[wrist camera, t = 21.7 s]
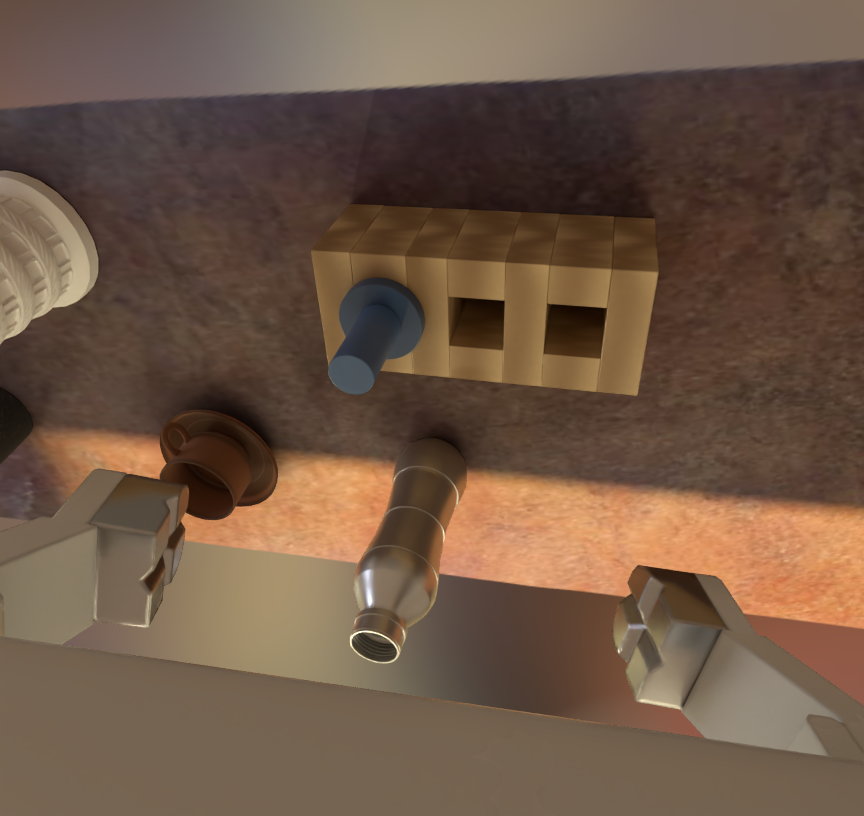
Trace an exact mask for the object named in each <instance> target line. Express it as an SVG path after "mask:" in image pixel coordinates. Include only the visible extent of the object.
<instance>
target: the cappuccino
mask: <svg viewBox="0 0 864 816" xmlns="http://www.w3.org/2000/svg"><path fill="white" fill-rule="evenodd" d="M160 447H161V451H162V454H163V457H164V459H165V461H166V463H167V464H166V465H165V466H164V468H163V469H162V471H161V473H160V480H164V481H169V482H174V483H179V484H184V485H188V489H189V498H188V508H187V510H186V513H188V514H190V515H192V516H194V517H197V518H201V519H205V520H219V519H223V518H225V517H227V516H229V515H230V514H231V513H232V511H233V510H234V508H235V506H251V505H255V504H259V503H261V502H263V501H264V500H266V499H267V498H268V497H269V496H270V495H271V494H272V493H273V491H274V489H275V487H276V484H277V479H278V469H277V464H276V461H275V458H274V456H273V454H272V452H271V450H270V449H269V447H268V446H267V445H266V443H265V442H264V441H263V439H262V438H261V437H260V436H259V435H258V434H257V433H256V432H255V431H253V430H252V429H251V428H250V427H248V426H247V425H245V424H244V423H242V422H241V421H239V420H237V419H235V418H233V417H231V416H228V415H225V414H222V413H219V412H215V411H210V410H189V411H185V412H182V413H179V414H177V415H176V416H174V417H172V418H171V419H170V420H169V421H168V422H167V423H166V424H165V425H164V427H163V429H162V431H161V435H160Z"/></svg>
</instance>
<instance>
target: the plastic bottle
mask: <svg viewBox="0 0 864 816" xmlns="http://www.w3.org/2000/svg"><path fill="white" fill-rule="evenodd" d="M466 481H467V468H466V464H465V461H464V459H463V458H462V456H461V455H460V453H459V452H458V450H457V449H456V448H455V447H454V446H452V445H451V444H449V443H447V442H446V441H443V440H440V439H436V438H423V439H420V440H417V441H414V442H412V443H410V444H409V445H408V446H407V447H406V448H405V449H404V450H403V452H402V453H401V455H400V456H399V458H398V460H397V461H396V465H395V469H394V474H393V482H392V490H391V494H390V497H389V501H388V505H387V509H386V511H385V514H384V516H383V519H382V521H381V523H380V525H379V527H378V529H377V531H376V534H375V536H374V537H373V539H372V541H371V543H370V544H369V546H368V548H367V549H366V551H365V553H364V554H363V556H362V558H361V560H360V561H359V563H358V566H357V568H356V569H355V573H354V593H355V596H356V600H357V603H358V606H359V609H360V612H359V613H358V614H357V616H356V619H355V622H354V628H353V631H352V633H351V636H350V644H351V647H352V648H353V650H354V651H355V652H356V653H357V654H358V655H360V656H361V657H363V658H365V659H367V660H370V661H373V662H377V663H390V662H393V661H395V660H396V659H397V658H398V656H399V654H400V651H401V648H402V644H403V643H404V642H405V639H406V636H407V628H408V627H409V626H411V625H413V624H415V623H416V622H417V621H419V620H420V619H421V618H423V617H424V616H425V615H426V614H427V613H428V611H429V610H430V608H431V607H432V605H433V604H434V601H435V599H436V594H437V588H438V577H439V567H440V558H441V553H442V548H443V542H444V539H445V534H446V530H447V527H448V525H449V522H450V519H451V517H452V514H453V512H454V509H455V508H456V506H457V505H458V503H459V501H460V499H461V497H462V495H463V493H464V490H465V488H466Z"/></svg>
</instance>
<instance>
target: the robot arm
mask: <svg viewBox="0 0 864 816" xmlns="http://www.w3.org/2000/svg"><path fill="white" fill-rule="evenodd" d="M188 498H189V489H188V485H184V484H179V483H174V482H169V481H164V480H159V479H154V478H148V477H143V476H138V475H133V474H127V473H124V472H118V471H112V470H105V469H95V470H93V471H92V472H91V473H90V474H89V476H88V477H87V478H86V479H85V480H84V481H83V483H82V484H81V485H80V486H79V487H78V488H77V490H76V491H75V492H74V493H73V494H72V495H71V497H70V498H69V499H68V500H67V501H66V502H65V504H64V505H63V506H62V507H61V508H60V509H59V511H58V512H57V513H56V514H55V515H54V516H53V518H48V517H40V518H37V519H35V520H32V521H29V522H26V523H23V524H21V525H17V526H15V527H12V528H9V529H6V530H3V531H0V816H864V706H863V705H862V704H860V703H859V702H857V701H856V700H855V699H853V698H852V697H850V696H849V695H848V694H846V693H845V692H843V691H842V690H840V689H839V688H838V687H836V686H835V685H833V684H832V683H830V682H829V681H827V680H826V679H825V678H823V677H822V676H820V675H819V674H818V673H816V672H815V671H814V670H812V669H810V668H809V667H808V666H807V665H805V664H804V663H802V662H801V661H799V660H798V659H797V658H795V657H794V656H792V655H791V654H790V653H788V652H787V651H785V650H784V649H782V648H781V647H780V646H778V645H777V644H775V643H774V642H772V641H771V640H770V639H768V638H767V637H765V636H759V635H757V633H756V632H755V630H754V629H753V627H752V626H751V625H750V623H749V621H748V620H747V618H746V617H745V615H744V614H743V612H742V611H741V609H740V608H739V606H738V605H737V603H736V602H735V600H734V598H733V597H732V595H731V594H730V592H729V591H728V589H727V588H726V586H725V585H724V583H723V582H722V580H720V579H719V578H717V577H716V576H711V575H704V574H697V573H688V572H681V571H674V570H668V569H661V568H654V567H648V566H641V565H638V566H637V567H636V568H635V569H634V570H633V571H632V574H631V576H630V578H629V580H628V585H629V588H630V591H631V594H630V595H629V596H627V597H626V598H624V599H623V600H622V601H620V602H619V604H618V607H617V610H616V612H615V615H614V621H613V631H612V632H613V639H614V644H615V647H616V650H617V653H618V654H619V655H620V656H621V657H622V658H623V659H624V660H626V661H627V662H628V663H629V664H628V666H627V668H626V671H625V674H626V677H627V679H628V682H629V684H630V687H631V690H632V692H633V695H634V697H635V700H636V701H637V702H643V703H648V704H654V705H659V706H665V707H671V708H676V709H682V711H681V712H682V713H683V714H684V715H685V716H686V717H687V719H688V720H689V721H690V722H691V723H692V724H693V725H694V726H695V727H696V728H697V729H698V730H699V732H700V733H701V734H702V735H703V736H704V737H705V738H701V737H694V736H687V735H680V734H672V733H666V732H659V731H652V730H645V729H638V728H632V727H625V726H617V725H611V724H603V723H597V722H590V721H583V720H576V719H570V718H563V717H556V716H549V715H541V714H535V713H528V712H521V711H514V710H507V709H500V708H494V707H486V706H480V705H472V704H466V703H459V702H452V701H446V700H438V699H432V698H425V697H418V696H411V695H404V694H397V693H390V692H384V691H376V690H370V689H363V688H356V687H349V686H342V685H336V684H329V683H322V682H315V681H308V680H301V679H294V678H287V677H280V676H273V675H267V674H260V673H253V672H246V671H239V670H232V669H225V668H218V667H212V666H204V665H197V664H191V663H184V662H177V661H170V660H163V659H157V658H150V657H143V656H136V655H129V654H122V653H115V652H108V651H101V650H95V649H88V648H81V647H74V646H67V645H62V644H63V643H65V642H66V641H68V640H69V639H71V638H73V637H74V636H76V635H77V634H79V633H80V632H82V631H83V630H85V629H86V628H88V627H89V626H91V625H92V624H93V621H95V622H104V623H111V624H120V625H129V626H136V627H144V628H149V626H150V624H151V622H152V620H153V618H154V616H155V614H156V612H157V610H158V608H159V606H160V604H161V602H162V599H163V589H164V586H165V585H167V584H169V583H171V581H172V579H173V577H174V575H175V573H176V571H177V568H178V564H179V561H180V558H181V555H182V550H183V545H184V538H185V530H186V529H185V528H184V526H183V524H182V523H181V519H182V517H183V515H184V514H185V512H186V510H187V508H188Z"/></svg>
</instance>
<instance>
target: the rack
mask: <svg viewBox="0 0 864 816" xmlns="http://www.w3.org/2000/svg"><path fill="white" fill-rule="evenodd" d="M311 255H312V261H313V268H314V274H315V281H316V287H317V294H318V300H319V307H320V313H321V320H322V326H323V333H324V339H325V346H326V352H327V358H328V365H329V364H330V362H331V360H332V359H333V357H334V355H335V354H336V352H337V351H338V349H339V347H340V346H341V344H342V342H343V341H344V339H345V338H346V336H345V335H344V333H343V331H342V328H341V325H340V321H339V309H340V305H341V302H342V300H343V299H344V297H345V295H346V294H347V293H348V291H349V290H350V289H351V287H353V286H354V285H355V284H356V283H358V282H360V281H362V280H365V279H369V278H387V279H391V280H394V281H396V282H398V283H400V284H402V285H404V286H405V287H407V288H408V289H409V290H410V291H411V292H412V293H413V294H414V295H415V296H416V297H417V299H418V300H419V302H420V304H421V306H422V308H423V311H424V315H425V328H424V332H423V334H422V337H421V339H420V341H419V343H418V345H417V346H416V347H415V349H413V350H412V351H411V352H410V353H409V354H407V355H405V356H403V357H400V358H396V359H386V361H385V363H384V365H383V367H382V368H381V370H380V371H390V372H401V373H411V374H412V373H413V374H420V375H430V376H440V377H451V378H460V379H471V380H481V381H491V382H501V383H502V382H503V383H512V384H522V385H532V386H542V387H553V388H563V389H573V390H584V391H594V392H596V391H598V392H607V393H617V394H628V395H637V394H638V389H639V383H640V377H641V371H642V366H643V360H644V354H645V348H646V343H647V337H648V331H649V325H650V320H651V314H652V308H653V302H654V297H655V291H656V285H657V279H658V274H659V270H658V256H657V242H656V227H655V219H653V218H632V217H615V218H614V217H613V216H592V215H571V214H553V213H532V212H522V213H521V212H509V211H488V210H467V209H446V208H434V209H433V208H422V207H401V206H384V205H364V204H350V205H349V206H348V207H347V208H346V209H345V211H344V212H343V213H342V214H341V215H340V216H339V218H338V219H337V220H336V221H335V222H334V224H333V225H332V226H331V227H330V228H329V229H328V231H327V232H326V233H325V234H324V235H323V236H322V238H321V239H320V240H319V241H318V242H317V244H316V245H315V246H314V247H313V248H312V249H311Z"/></svg>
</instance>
